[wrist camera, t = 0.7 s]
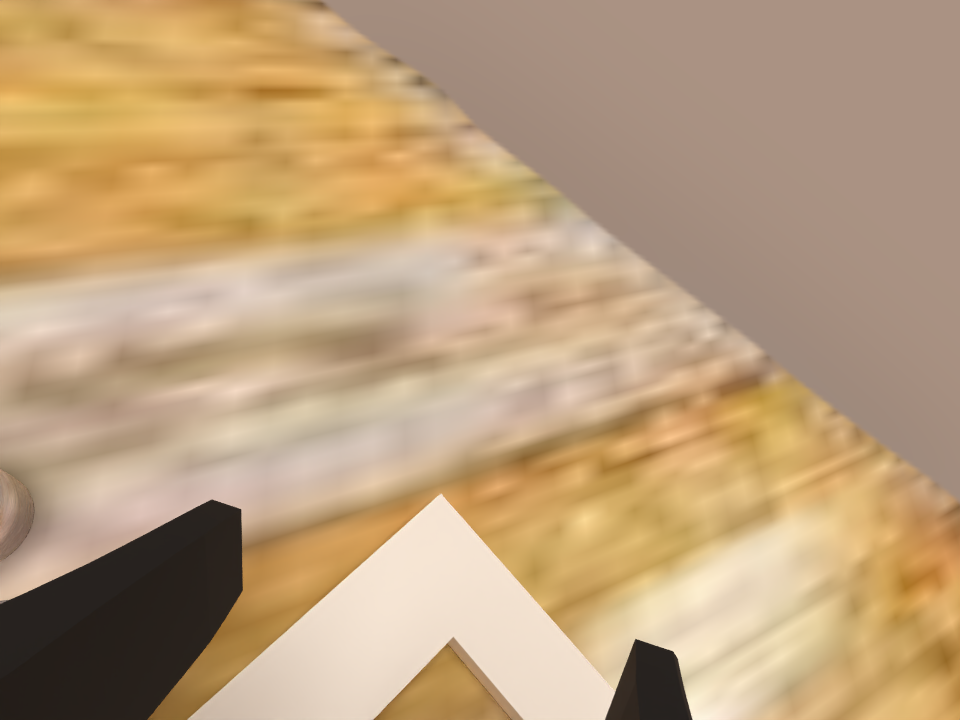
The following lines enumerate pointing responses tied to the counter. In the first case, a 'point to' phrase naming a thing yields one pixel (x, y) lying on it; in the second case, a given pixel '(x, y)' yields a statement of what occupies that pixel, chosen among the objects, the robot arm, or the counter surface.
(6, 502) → the short steel pin
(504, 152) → the counter surface
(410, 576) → the hole board
